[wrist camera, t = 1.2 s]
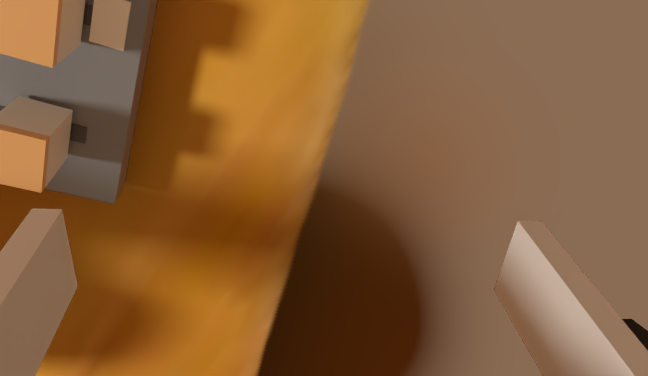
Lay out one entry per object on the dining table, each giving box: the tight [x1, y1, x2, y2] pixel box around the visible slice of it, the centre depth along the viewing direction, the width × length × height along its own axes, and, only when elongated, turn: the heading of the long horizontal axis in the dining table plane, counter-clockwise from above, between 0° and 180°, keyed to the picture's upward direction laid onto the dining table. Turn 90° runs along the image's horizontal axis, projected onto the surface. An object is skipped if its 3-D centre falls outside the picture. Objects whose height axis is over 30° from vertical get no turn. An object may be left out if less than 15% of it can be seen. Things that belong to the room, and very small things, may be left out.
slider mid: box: [0, 0, 85, 68], centre depth 27 cm, size 3×4×5 cm
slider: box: [0, 96, 73, 193], centre depth 31 cm, size 3×4×5 cm
